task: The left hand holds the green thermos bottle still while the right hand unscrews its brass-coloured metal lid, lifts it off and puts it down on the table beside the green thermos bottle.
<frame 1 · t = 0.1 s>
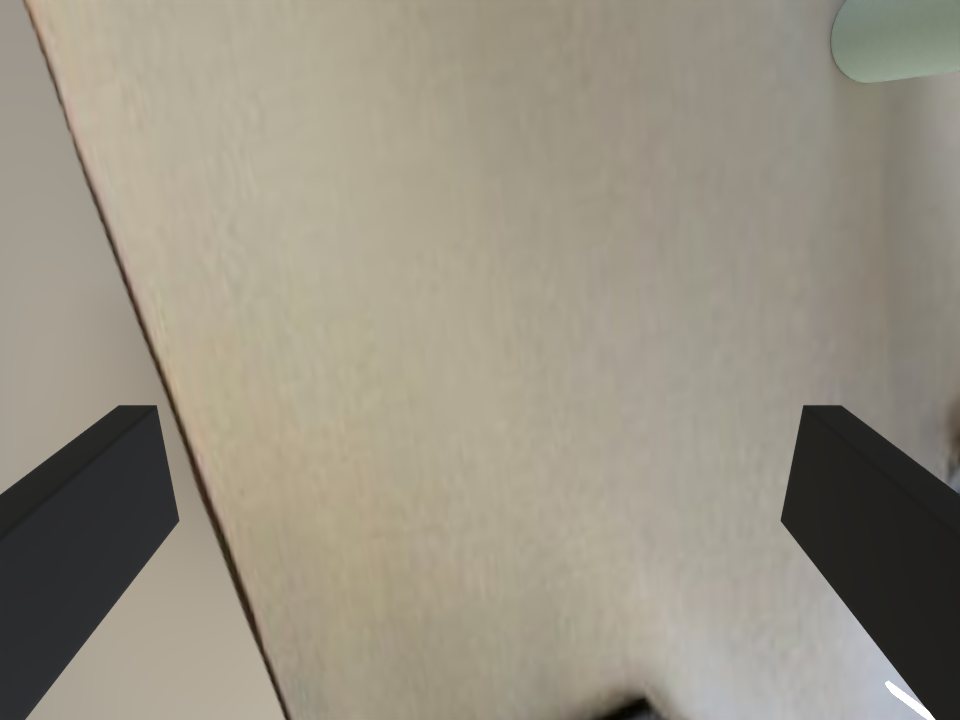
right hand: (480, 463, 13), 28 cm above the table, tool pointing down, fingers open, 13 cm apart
green thermos bottle: (878, 31, 35), on the table
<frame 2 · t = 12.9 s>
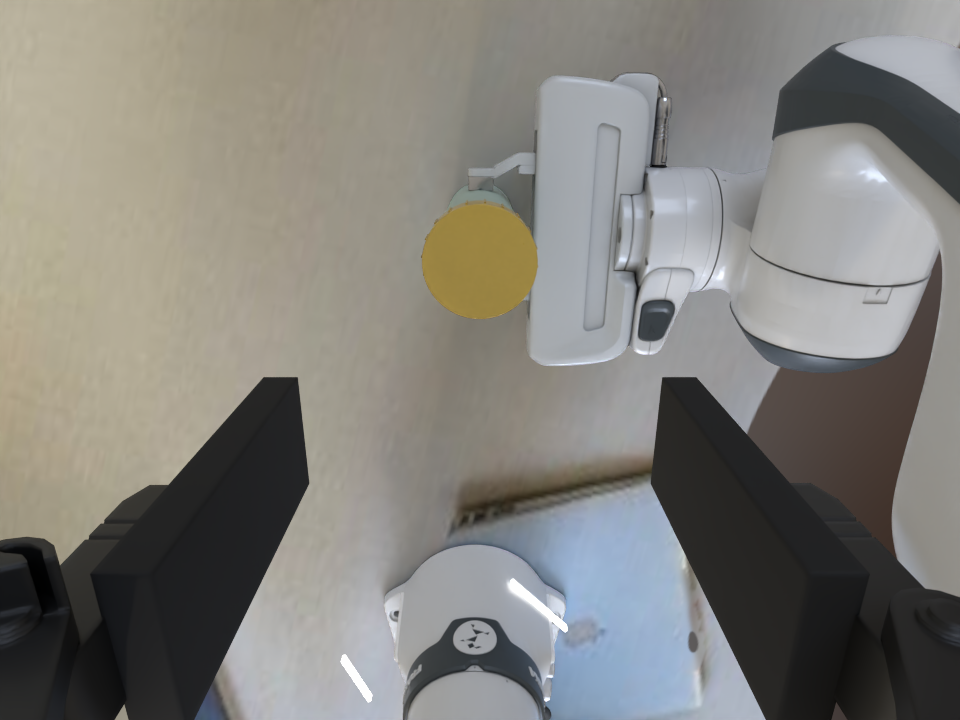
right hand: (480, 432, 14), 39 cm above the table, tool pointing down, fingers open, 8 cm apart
left hand: (467, 227, 45), fingers closed on green thermos bottle, 5 cm apart
lid: (479, 262, 33), point 20 cm above the table, screwed on, not yet turned
green thermos bottle: (480, 215, 51), on the table, touching left hand
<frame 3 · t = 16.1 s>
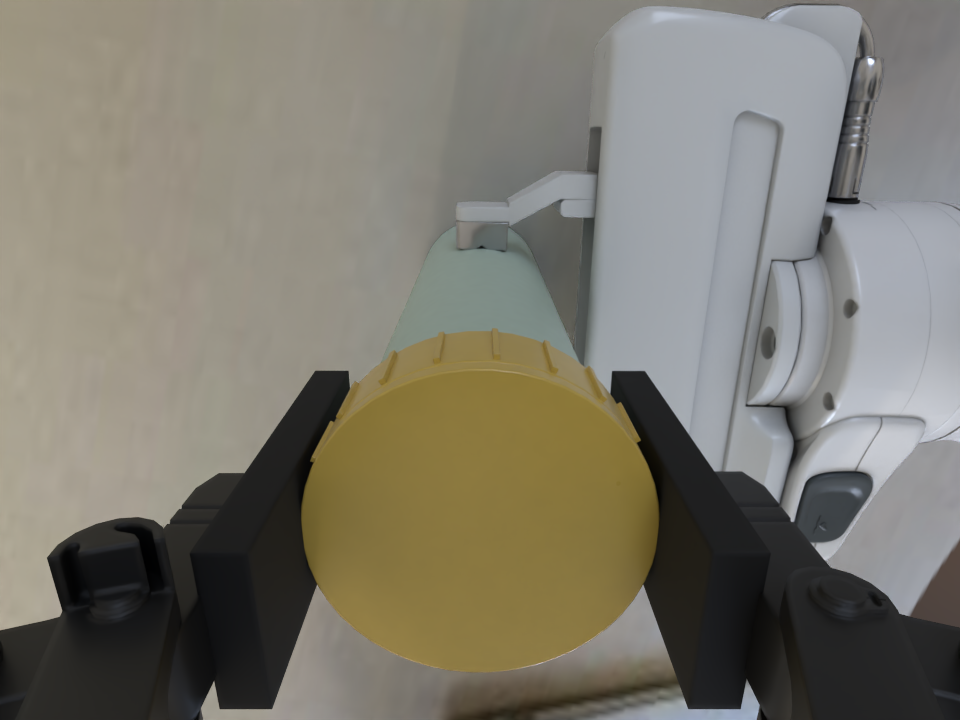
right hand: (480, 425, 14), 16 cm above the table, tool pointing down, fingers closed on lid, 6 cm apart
left hand: (456, 318, 23), fingers closed on green thermos bottle, 5 cm apart
lid: (480, 524, 11), point 20 cm above the table, screwed on, not yet turned, touching right hand
green thermos bottle: (480, 277, 29), on the table, touching left hand
when the right hand's fingers open (16 cm above the table, at t = 17.7 s): lid stays where it is, point 20 cm above the table.
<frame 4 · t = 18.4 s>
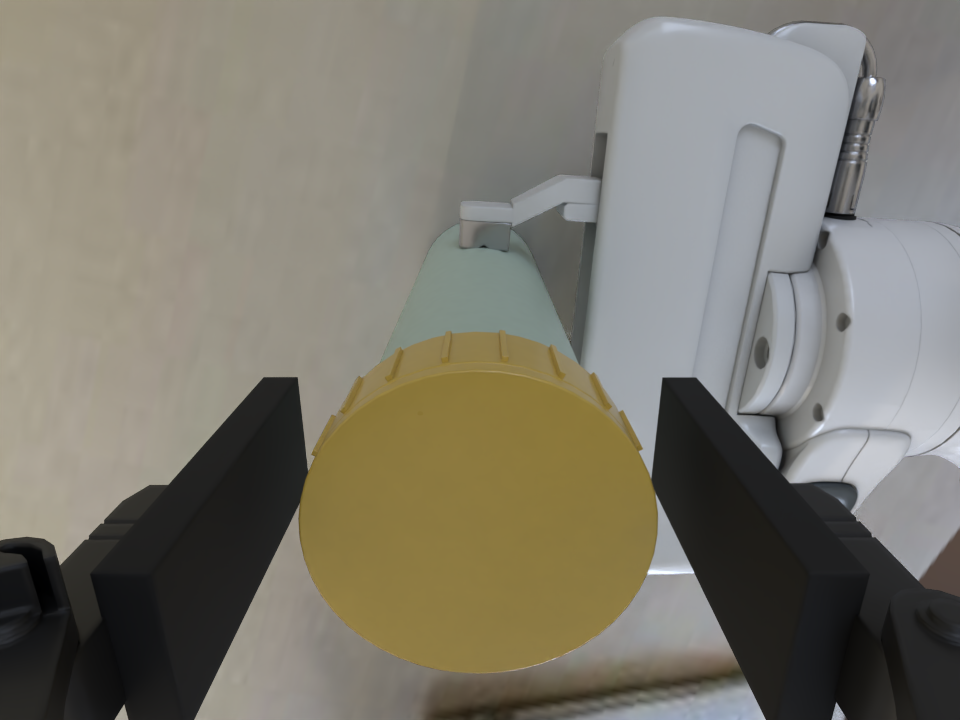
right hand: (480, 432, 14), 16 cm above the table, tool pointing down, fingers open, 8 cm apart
left hand: (455, 315, 23), fingers closed on green thermos bottle, 5 cm apart
lid: (478, 525, 11), point 20 cm above the table, turned 89° so far, risen 0.2 cm, still on its thread
green thermos bottle: (479, 277, 29), on the table, touching left hand
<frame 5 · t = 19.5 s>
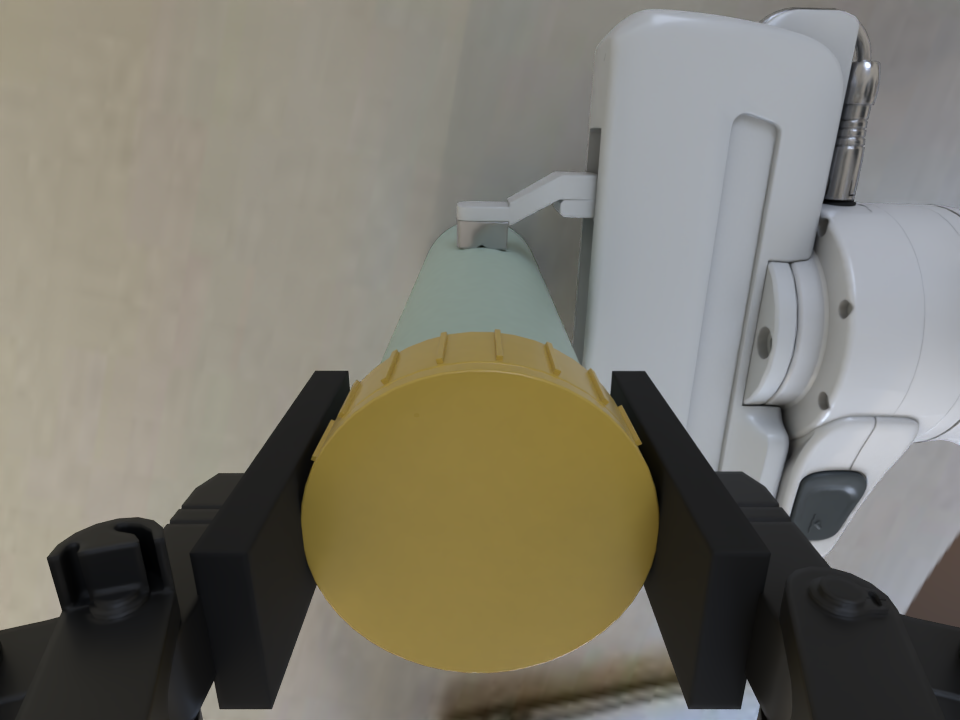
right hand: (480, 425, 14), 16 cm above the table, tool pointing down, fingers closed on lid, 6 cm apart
left hand: (456, 316, 23), fingers closed on green thermos bottle, 5 cm apart
lid: (480, 524, 11), point 20 cm above the table, turned 89° so far, risen 0.2 cm, still on its thread, touching right hand
green thermos bottle: (480, 276, 29), on the table, touching left hand
when the right hand's fingers open (0 cm above the table, at t = 27.9 s): lid drops 3 cm, point 2 cm above the table.
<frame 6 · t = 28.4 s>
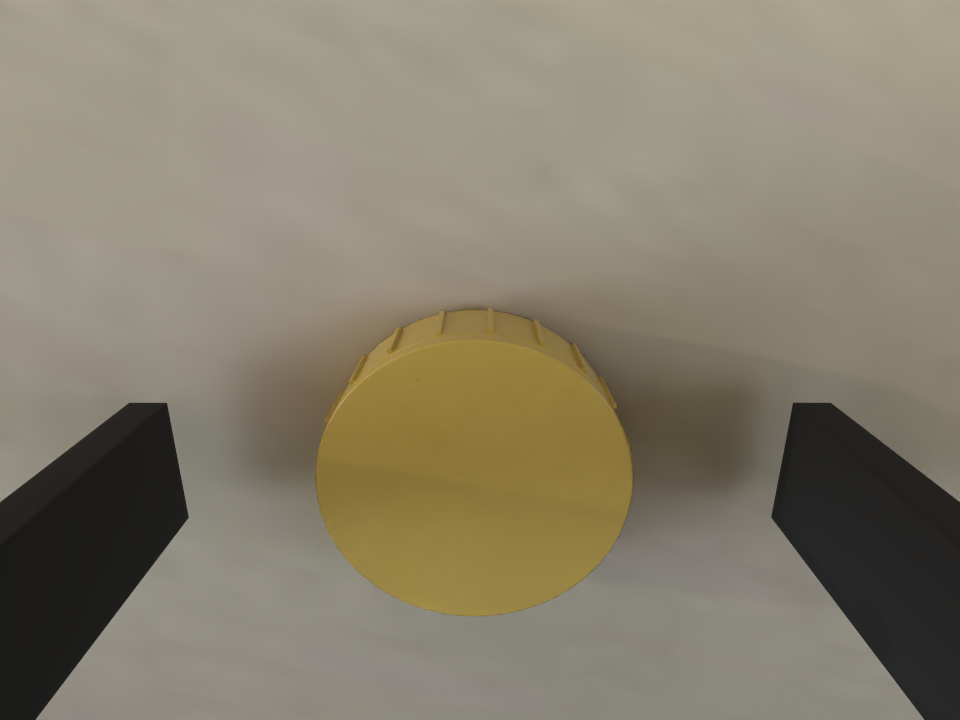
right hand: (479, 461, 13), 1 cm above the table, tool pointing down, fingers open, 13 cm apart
lid: (474, 481, 12), point 2 cm above the table, off its thread
when the left hand's fingers open (7 cm above the table, at t = 29.2 s): green thermos bottle stays where it is, on the table.
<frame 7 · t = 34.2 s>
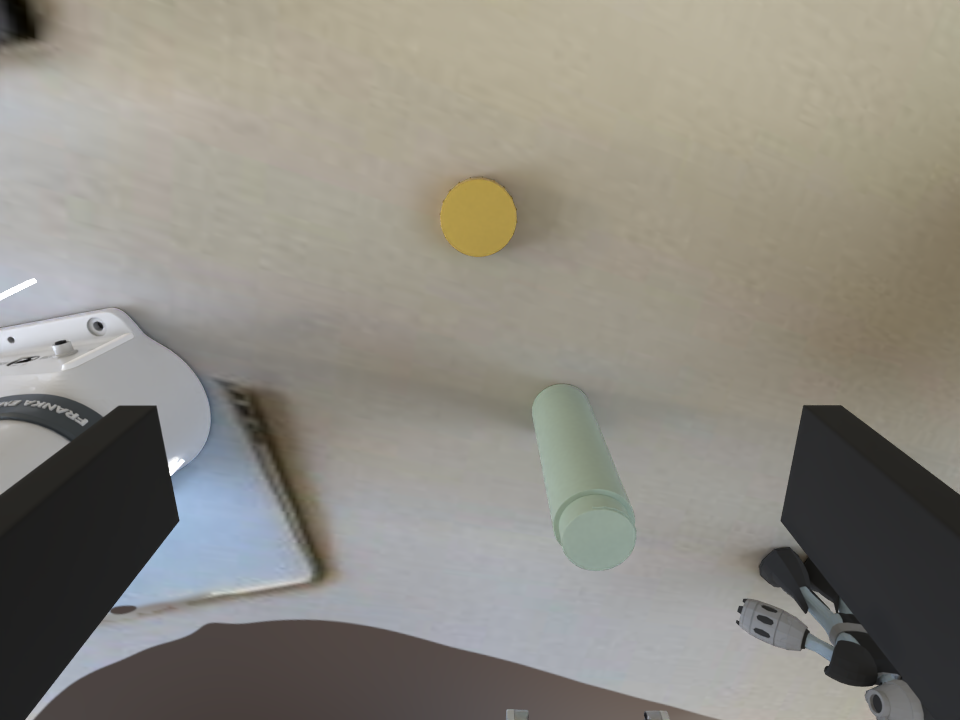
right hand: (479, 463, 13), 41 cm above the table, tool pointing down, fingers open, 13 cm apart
robot: (798, 565, 63), on the table
lid: (478, 218, 49), point 2 cm above the table, off its thread
green thermos bottle: (560, 410, 57), on the table
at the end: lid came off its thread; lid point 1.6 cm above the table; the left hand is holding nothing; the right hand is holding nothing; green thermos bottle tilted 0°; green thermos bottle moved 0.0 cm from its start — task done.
